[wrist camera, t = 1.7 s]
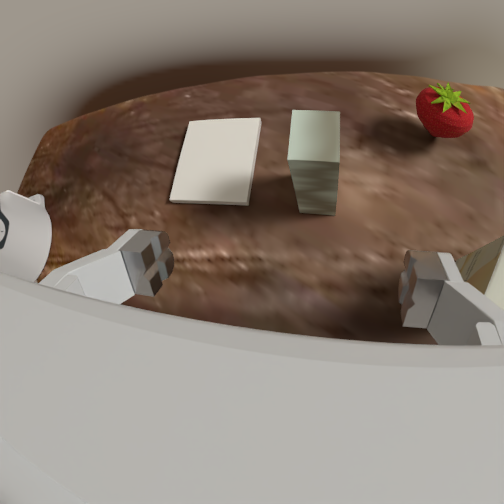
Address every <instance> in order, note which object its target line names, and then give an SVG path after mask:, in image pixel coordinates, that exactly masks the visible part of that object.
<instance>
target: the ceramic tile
mask: <svg viewBox="0 0 504 504" xmlns="http://www.w3.org/2000/svg"><path fill="white" fill-rule="evenodd" d="M260 129H261V119H260V118H237V119H216V120H201V121H190V122H189V126H188V129H187V133H186V136H185V140H184V144H183V147H182V151H181V155H180V159H179V163H178V166H177V170H176V174H175V178H174V183H173V187H172V191H171V195H170V199H169V200H170V201H171V202H172V203H198V204H225V205H248V206H249V200H250V193H251V187H252V180H253V174H254V167H255V161H256V154H257V148H258V141H259V135H260Z"/></svg>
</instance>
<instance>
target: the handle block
mask: <svg viewBox="0 0 504 504" xmlns="http://www.w3.org/2000/svg"><path fill="white" fill-rule="evenodd" d="M339 159H340V112H333V111H311V110H292V120H291V130H290V140H289V150H288V159H287V160H288V164H289V168H290V172H291V176H292V181H293V185H294V189H295V194H296V198H297V203H298V207H299V212H300V213H309V214H323V215H335V213H336V202H337V190H338V176H339Z"/></svg>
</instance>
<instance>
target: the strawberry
mask: <svg viewBox="0 0 504 504" xmlns="http://www.w3.org/2000/svg"><path fill="white" fill-rule="evenodd" d="M437 85H438V86H439V87H434V86H431V85H429V87H430V88H425V89H424V90H422V91H421V92H420V94H419V95H418V96H417V99H416V109H417V115H418V117H419V119H420V121H421V122H422V124H423V125H424V127H425V128H426V129H427V130H428V131H429V133H430V134H431V135H432V136H434V137H442V138H455V137H459V136H461V135H463V134H465V133H466V132H468V131H469V130H470V129H471V128H472V124H473V119H474V116H473V112H472V110H471V109H470V107H469V105H468V104H471V103H469V102H468V101H466V100H464V99H463V98H462V97H460V93H461V91H458V92H453V91H452V90H454V89H451V87H450V85H449V83H448V84H447V87H446V89H445V88H443V87H442V86H441V85H440V84H438V83H437ZM467 103H468V104H467Z"/></svg>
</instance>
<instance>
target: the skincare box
mask: <svg viewBox="0 0 504 504" xmlns="http://www.w3.org/2000/svg"><path fill="white" fill-rule="evenodd" d="M455 264H456V266H457V268H458V270H459V272H460V274H461V277H462V279H463V281H464V282H468V283H469V284H471V285H472V286H473V287H474V288H476V289H477V290H478V291H480V292H481V293H482V294H484V295H485V296H486V297H487V298H489V299H490V300H491V301H492V302H494V303H495V304H496V305H497V306H499V307H500V308H501V309H502V310H503V311H504V236H502V237H500V238H498V239H496V240H495V241H493V242H491V243H489V244H487V245H485V246H483V247H481V248H479V249H477V250H476V251H474V252H472V253H470V254H468V255H466V256H464V257H462V258H460V259H458V260H457V261H456V262H455Z"/></svg>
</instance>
